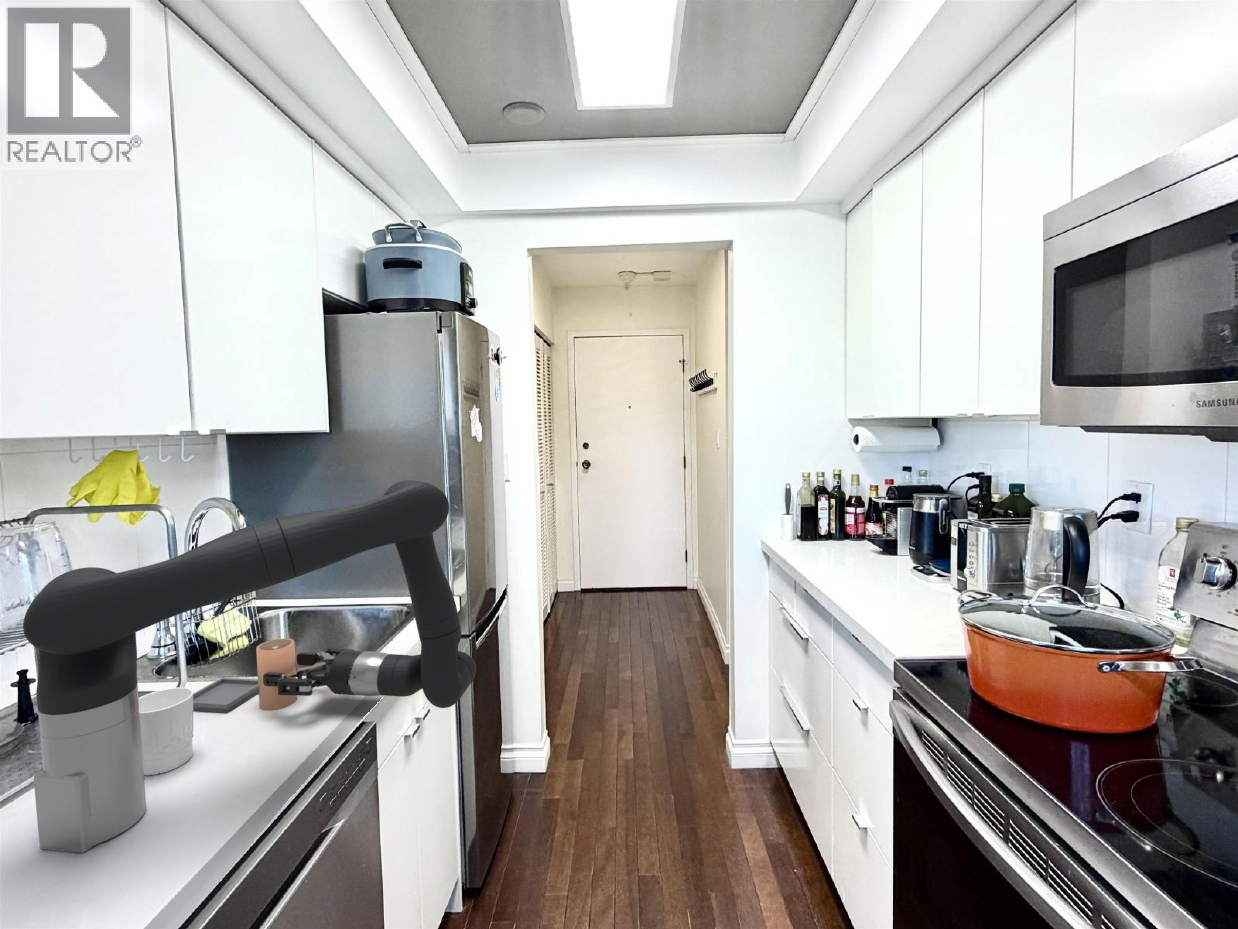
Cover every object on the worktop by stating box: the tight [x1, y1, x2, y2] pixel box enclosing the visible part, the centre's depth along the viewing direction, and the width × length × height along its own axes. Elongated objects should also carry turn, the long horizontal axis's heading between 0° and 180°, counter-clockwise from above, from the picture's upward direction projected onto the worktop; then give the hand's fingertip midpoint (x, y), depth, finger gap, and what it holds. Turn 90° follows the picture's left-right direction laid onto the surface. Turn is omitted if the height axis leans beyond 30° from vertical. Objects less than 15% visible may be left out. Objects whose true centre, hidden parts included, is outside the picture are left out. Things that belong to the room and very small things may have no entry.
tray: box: [193, 677, 259, 714], centre depth 105 cm, size 10×10×2 cm
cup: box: [256, 638, 298, 711], centre depth 104 cm, size 6×6×11 cm
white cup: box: [138, 687, 195, 776], centre depth 85 cm, size 8×8×10 cm
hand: (281, 668), depth 103 cm, fingers open, 8 cm apart
